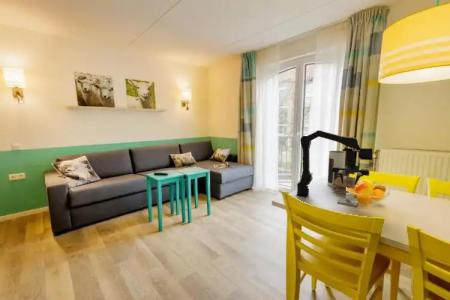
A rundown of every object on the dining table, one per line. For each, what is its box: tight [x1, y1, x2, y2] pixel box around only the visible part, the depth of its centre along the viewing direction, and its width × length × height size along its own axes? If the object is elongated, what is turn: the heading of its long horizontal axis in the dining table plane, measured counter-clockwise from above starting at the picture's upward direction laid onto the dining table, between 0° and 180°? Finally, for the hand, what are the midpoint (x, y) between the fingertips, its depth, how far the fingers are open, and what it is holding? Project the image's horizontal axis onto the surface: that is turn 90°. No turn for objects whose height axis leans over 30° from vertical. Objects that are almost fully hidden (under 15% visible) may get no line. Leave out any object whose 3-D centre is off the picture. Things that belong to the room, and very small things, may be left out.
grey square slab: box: [337, 192, 359, 208], centre depth 128 cm, size 10×10×5 cm
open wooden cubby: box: [343, 176, 356, 189], centre depth 126 cm, size 6×6×6 cm
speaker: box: [327, 150, 346, 188], centre depth 158 cm, size 11×10×26 cm
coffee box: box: [332, 171, 350, 195], centre depth 145 cm, size 9×6×16 cm
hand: (348, 184), depth 127 cm, fingers closed on open wooden cubby, 6 cm apart
